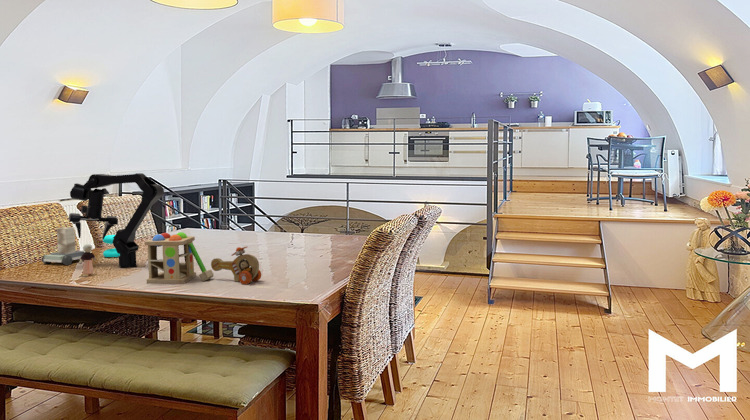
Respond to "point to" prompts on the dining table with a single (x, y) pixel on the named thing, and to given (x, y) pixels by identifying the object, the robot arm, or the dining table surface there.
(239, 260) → the toy helicopter
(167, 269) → the pounding bench toy
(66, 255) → the chassis
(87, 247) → the grandmother figurine
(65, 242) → the beige stone block
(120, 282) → the dining table surface
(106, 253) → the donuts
